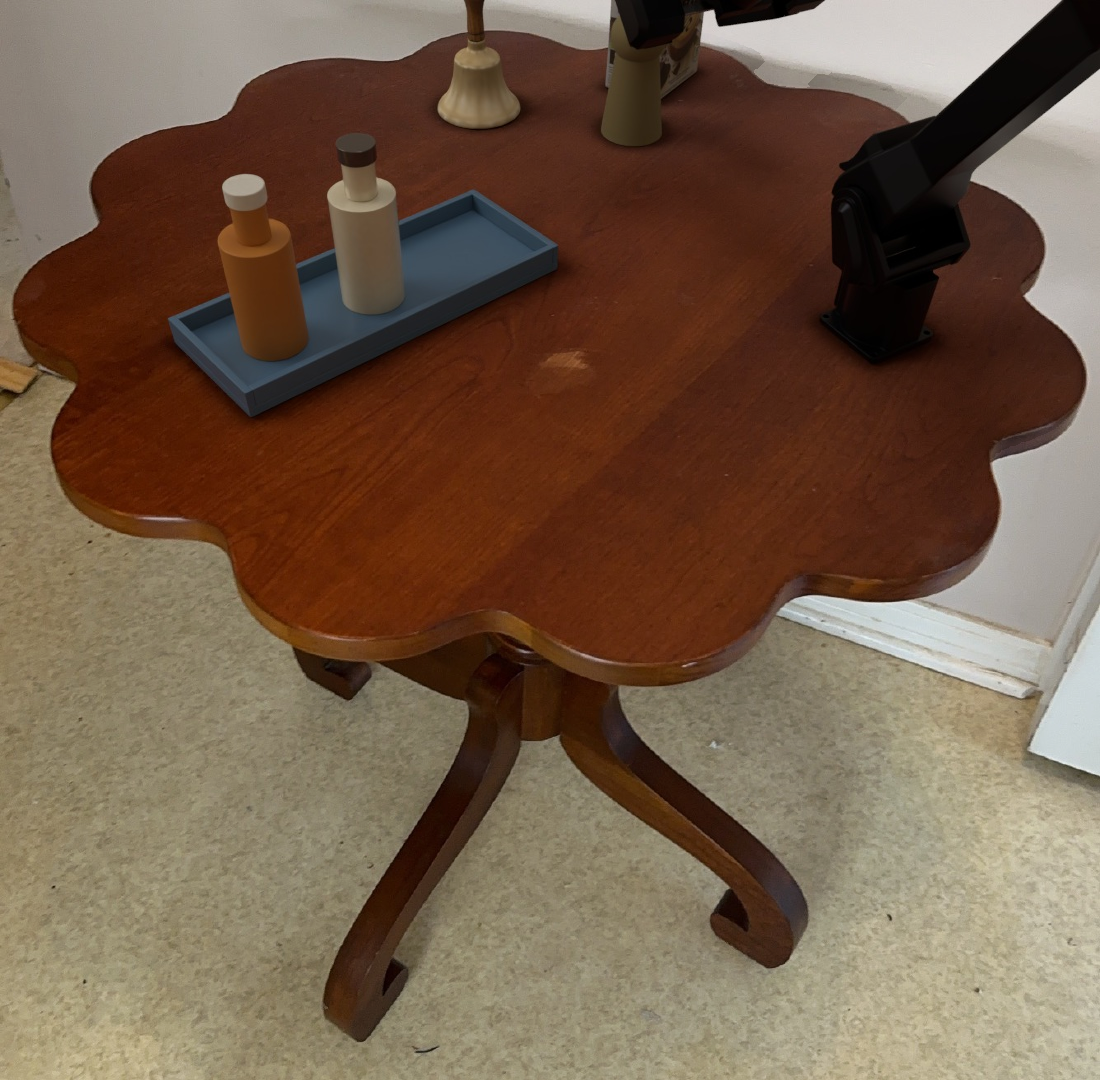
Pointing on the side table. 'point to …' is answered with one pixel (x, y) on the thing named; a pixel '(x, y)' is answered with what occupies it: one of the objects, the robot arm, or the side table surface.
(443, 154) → the side table surface
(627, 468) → the side table surface
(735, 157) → the side table surface
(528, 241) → the tray
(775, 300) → the side table surface
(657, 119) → the olive pawn piece
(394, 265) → the cream bottle
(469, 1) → the hand bell
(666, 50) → the coffee box
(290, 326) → the amber bottle
